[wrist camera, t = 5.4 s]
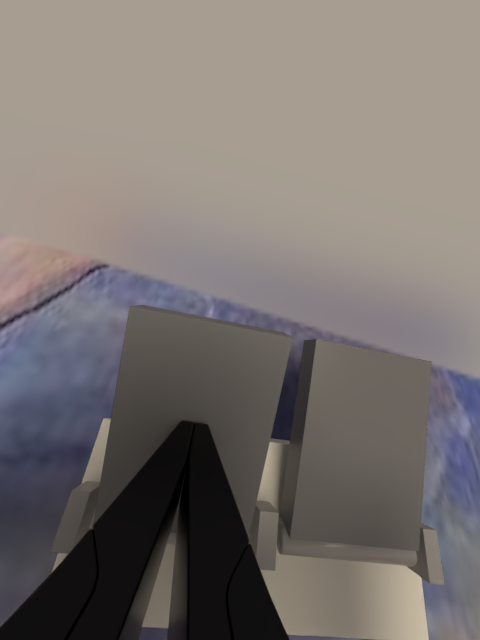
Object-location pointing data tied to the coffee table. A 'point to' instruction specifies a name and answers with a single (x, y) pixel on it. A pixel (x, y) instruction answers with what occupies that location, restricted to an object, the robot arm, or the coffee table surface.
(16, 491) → the coffee table surface
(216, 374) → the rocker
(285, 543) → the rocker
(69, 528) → the rocker switch base
